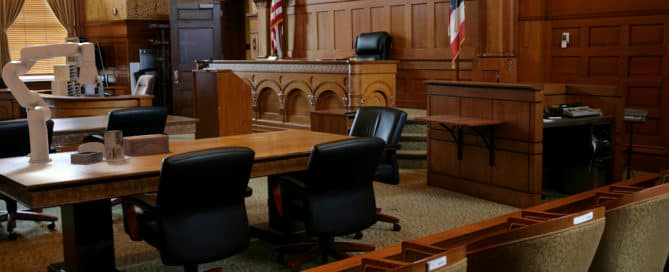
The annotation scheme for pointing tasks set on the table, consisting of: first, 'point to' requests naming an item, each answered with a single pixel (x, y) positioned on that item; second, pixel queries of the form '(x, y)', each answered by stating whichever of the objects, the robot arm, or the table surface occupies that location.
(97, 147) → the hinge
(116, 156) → the coffee box
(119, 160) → the felt pad
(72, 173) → the table surface
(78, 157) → the metal bracket
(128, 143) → the tissue box cover
